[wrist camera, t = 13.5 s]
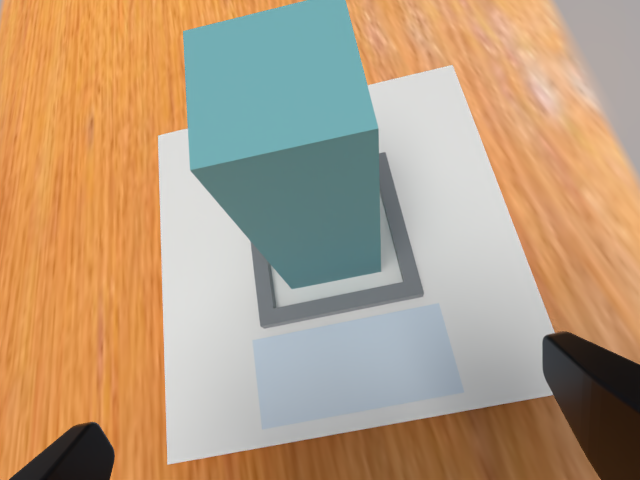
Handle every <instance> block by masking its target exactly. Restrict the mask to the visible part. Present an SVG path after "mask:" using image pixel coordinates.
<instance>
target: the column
mask: <svg viewBox="0 0 640 480" xmlns="http://www.w3.org/2000/svg"><path fill="white" fill-rule="evenodd" d="M183 39H184V59H185V79H186V100H187V120H188V140H189V161H190V171H191V172H192V173H193V174H194V176H195V177H196V178H197V179H198V180H199V181H200V183H201V184H202V185H203V186H204V187H205V188H206V190H207V191H208V192H209V193H210V194H211V195H212V197H213V198H214V199H215V200H216V201H217V202H218V204H219V205H220V206H221V207H222V208H223V209H224V211H225V212H226V213H227V214H228V215H229V216H230V218H231V219H232V220H233V221H234V222H235V223H236V225H237V226H238V227H239V228H240V229H241V231H242V232H243V233H244V234H245V235H246V236H247V238H248V239H249V240H250V241H251V242H252V243H253V245H254V246H255V247H256V248H257V249H258V250H259V252H260V253H261V254H262V255H263V256H264V257H265V259H266V260H267V261H268V262H269V263H270V264H271V266H272V267H273V268H274V269H275V270H276V271H277V273H278V274H279V275H280V276H281V277H282V278H283V280H284V281H285V282H286V283H287V284H288V285H289V287H290V288H291V289H296V288H301V287H306V286H311V285H317V284H322V283H327V282H332V281H337V280H342V279H347V278H352V277H357V276H362V275H368V274H373V273H378V272H381V236H380V181H379V128H378V124H377V120H376V117H375V113H374V109H373V105H372V101H371V97H370V93H369V90H368V86H367V82H366V78H365V74H364V70H363V66H362V63H361V59H360V55H359V51H358V47H357V43H356V39H355V36H354V32H353V28H352V24H351V20H350V16H349V12H348V9H347V5H346V1H345V0H307V1H303V2H299V3H295V4H291V5H287V6H283V7H279V8H275V9H271V10H267V11H263V12H259V13H255V14H251V15H246V16H242V17H238V18H234V19H230V20H226V21H222V22H218V23H214V24H210V25H206V26H202V27H198V28H194V29H190V30H186V31H183Z"/></svg>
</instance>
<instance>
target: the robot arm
mask: <svg viewBox="0 0 640 480" xmlns="http://www.w3.org/2000/svg"><path fill="white" fill-rule="evenodd" d="M542 368H543V374H544V377H545V379H546V382H547V384H548V386H549V387H550V389H551V391H552V393H553V395H554V397H555V399H556V401H557V403H558V404H559V406H560V408H561V410H562V412H563V414H564V416H565V418H566V420H567V421H568V423H569V425H570V427H571V429H572V431H573V433H574V435H575V437H576V438H577V440H578V442H579V444H580V446H581V448H582V450H583V451H584V453H585V455H586V457H587V458H588V460H589V462H590V463H591V465H592V466H593V468H594V470H595V471H596V473H597V474H598V476H599V477H600V479H601V480H640V365H639V364H637V363H635V362H633V361H631V360H629V359H626V358H624V357H622V356H620V355H618V354H616V353H613V352H611V351H609V350H607V349H605V348H602V347H600V346H598V345H596V344H594V343H592V342H589V341H587V340H585V339H583V338H581V337H578V336H576V335H574V334H572V333H569V332H558V333H552V334H547V335H545V336H544V337H543V341H542ZM114 457H115V455H114V449H113V447H112V445H111V444H110V442H109V440H108V439H107V437H106V435H105V434H104V432H103V430H102V429H101V427H100V426H99V424H97V423H95V422H89V423H83V424H78V425H75V426H73V427H72V428H70V429H69V430H68V431H67V432H65V433H64V434H63V435H62V436H61V437H59V438H58V439H57V440H56V441H55V442H53V443H52V444H51V445H50V446H49V447H47V448H46V449H45V450H44V451H43V452H41V453H40V454H39V455H38V456H37V457H35V458H34V459H33V460H32V461H31V462H29V463H28V464H27V465H26V466H25V467H23V468H22V469H21V470H20V471H19V472H17V473H16V474H15V475H14V476H13V477H11V478H10V479H9V480H110V476H111V472H112V468H113V464H114Z"/></svg>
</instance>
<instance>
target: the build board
mask: <svg viewBox="0 0 640 480" xmlns="http://www.w3.org/2000/svg"><path fill="white" fill-rule="evenodd" d="M367 86H368V90H369V93H370V97H371V101H372V105H373V109H374V113H375V117H376V120H377V124H378V128H379V181H380V236H381V272H378V273H373V274H368V275H362V276H357V277H352V278H347V279H342V280H337V281H332V282H327V283H322V284H317V285H311V286H306V287H301V288H296V289H291V288H290V287H289V285H288V284H287V283H286V282H285V281H284V280H283V278H282V277H281V276H280V275H279V274H278V273H277V271H276V270H275V269H274V268H273V267H272V266H271V264H270V263H269V262H268V261H267V260H266V259H265V257H264V256H263V255H262V254H261V253H260V252H259V250H258V249H257V248H256V247H255V246H254V245H253V243H252V242H251V241H250V240H249V239H248V238H247V236H246V235H245V234H244V233H243V232H242V231H241V229H240V228H239V227H238V226H237V225H236V223H235V222H234V221H233V220H232V219H231V218H230V216H229V215H228V214H227V213H226V212H225V211H224V209H223V208H222V207H221V206H220V205H219V204H218V202H217V201H216V200H215V199H214V198H213V197H212V195H211V194H210V193H209V192H208V191H207V190H206V188H205V187H204V186H203V185H202V184H201V183H200V181H199V180H198V179H197V178H196V177H195V176H194V174H193V173H192V172H191V171H190V161H189V140H188V129H183V130H179V131H175V132H171V133H167V134H163V135H158V153H159V187H160V222H161V256H162V291H163V325H164V360H165V394H166V429H167V464H174V463H179V462H185V461H190V460H196V459H201V458H207V457H212V456H218V455H224V454H229V453H235V452H240V451H246V450H251V449H257V448H262V447H268V446H273V445H279V444H285V443H290V442H296V441H301V440H307V439H312V438H318V437H323V436H329V435H334V434H340V433H346V432H351V431H357V430H362V429H368V428H373V427H379V426H384V425H390V424H395V423H401V422H407V421H412V420H418V419H423V418H429V417H434V416H440V415H445V414H451V413H456V412H462V411H467V410H473V409H479V408H484V407H490V406H495V405H501V404H506V403H512V402H517V401H523V400H528V399H534V398H540V397H545V396H551V395H553V393H552V391H551V389H550V387H549V386H548V384H547V382H546V379H545V377H544V374H543V368H542V341H543V337H544V336H545V335H547V334H552V333H555V332H554V330H553V327H552V324H551V322H550V319H549V317H548V314H547V311H546V309H545V306H544V303H543V301H542V298H541V296H540V293H539V290H538V288H537V285H536V282H535V280H534V277H533V275H532V272H531V269H530V267H529V264H528V261H527V259H526V256H525V254H524V251H523V248H522V246H521V243H520V241H519V238H518V235H517V233H516V230H515V227H514V225H513V222H512V220H511V217H510V214H509V212H508V209H507V206H506V204H505V201H504V199H503V196H502V193H501V191H500V188H499V185H498V183H497V180H496V178H495V175H494V172H493V170H492V167H491V165H490V162H489V159H488V157H487V154H486V151H485V149H484V146H483V144H482V141H481V138H480V136H479V133H478V130H477V128H476V125H475V123H474V120H473V117H472V115H471V112H470V109H469V107H468V104H467V102H466V99H465V96H464V94H463V91H462V89H461V86H460V83H459V81H458V78H457V75H456V73H455V70H454V68H453V65H450V66H446V67H442V68H438V69H434V70H430V71H425V72H421V73H417V74H413V75H409V76H405V77H400V78H396V79H392V80H388V81H384V82H380V83H375V84H371V85H367Z"/></svg>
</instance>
